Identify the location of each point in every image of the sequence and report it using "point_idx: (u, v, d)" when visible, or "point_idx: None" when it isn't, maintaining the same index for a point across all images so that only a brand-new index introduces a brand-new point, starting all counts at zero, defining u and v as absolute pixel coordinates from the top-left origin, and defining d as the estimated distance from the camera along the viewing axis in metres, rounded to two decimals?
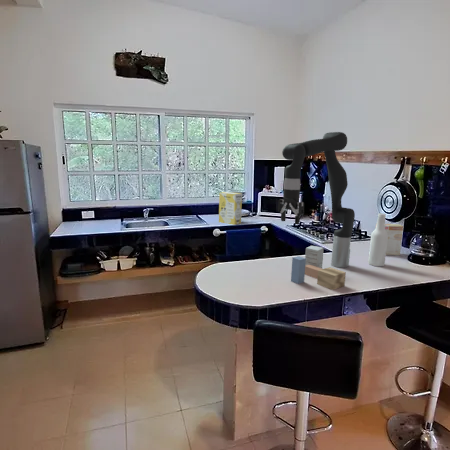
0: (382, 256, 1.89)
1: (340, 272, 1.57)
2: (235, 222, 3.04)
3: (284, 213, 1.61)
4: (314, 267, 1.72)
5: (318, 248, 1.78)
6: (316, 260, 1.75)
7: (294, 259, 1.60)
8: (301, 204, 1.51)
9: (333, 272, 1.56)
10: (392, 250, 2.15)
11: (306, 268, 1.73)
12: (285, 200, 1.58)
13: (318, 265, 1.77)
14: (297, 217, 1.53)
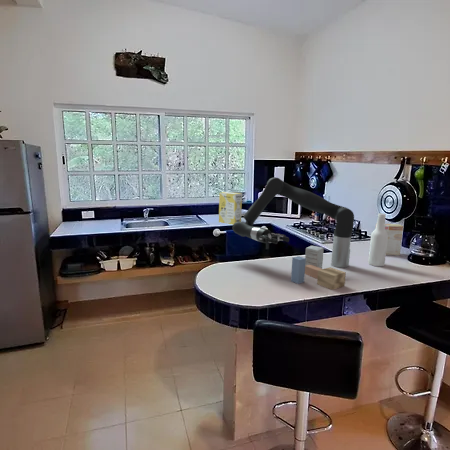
0: (382, 256, 1.89)
1: (340, 272, 1.57)
2: (235, 222, 3.04)
3: (283, 237, 1.73)
4: (314, 267, 1.72)
5: (318, 248, 1.78)
6: (316, 260, 1.75)
7: (294, 259, 1.60)
8: (260, 239, 1.71)
9: (333, 272, 1.56)
10: (392, 250, 2.15)
11: (306, 268, 1.73)
12: None
13: (318, 265, 1.77)
14: (271, 242, 1.68)
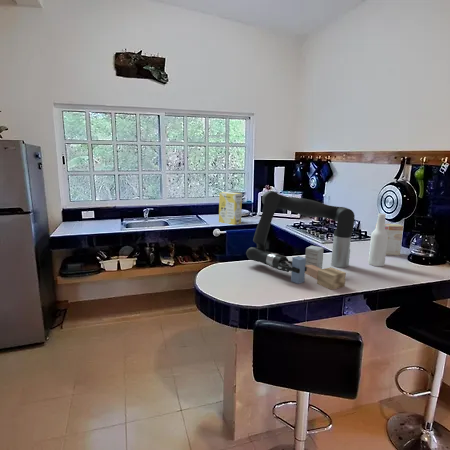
0: (382, 256, 1.89)
1: (340, 272, 1.57)
2: (235, 222, 3.04)
3: None
4: (314, 267, 1.72)
5: (318, 248, 1.78)
6: (316, 260, 1.75)
7: (294, 259, 1.60)
8: (279, 268, 1.63)
9: (333, 272, 1.56)
10: (392, 250, 2.15)
11: None
12: None
13: (318, 265, 1.77)
14: (293, 271, 1.61)
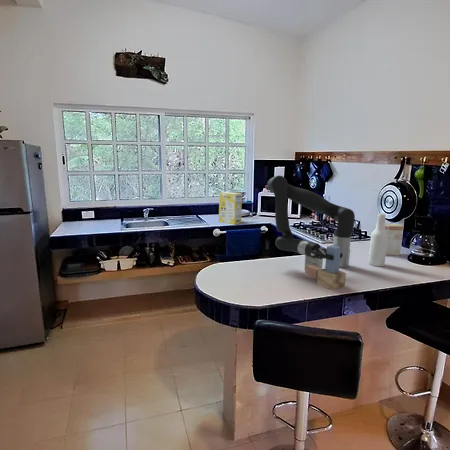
0: (382, 256, 1.89)
1: (340, 272, 1.57)
2: (235, 222, 3.04)
3: None
4: (314, 267, 1.72)
5: None
6: (316, 260, 1.75)
7: (329, 248, 1.56)
8: (312, 255, 1.59)
9: None
10: (392, 250, 2.15)
11: (307, 267, 1.74)
12: None
13: (318, 265, 1.77)
14: (326, 258, 1.55)
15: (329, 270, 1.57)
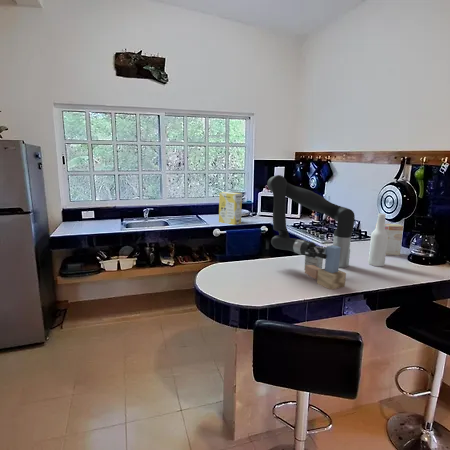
0: (382, 256, 1.89)
1: (340, 272, 1.57)
2: (235, 222, 3.04)
3: None
4: (314, 267, 1.72)
5: None
6: (316, 260, 1.75)
7: (329, 248, 1.56)
8: (306, 254, 1.61)
9: None
10: (392, 250, 2.15)
11: (307, 267, 1.74)
12: None
13: (318, 265, 1.77)
14: (319, 256, 1.58)
15: (329, 270, 1.57)
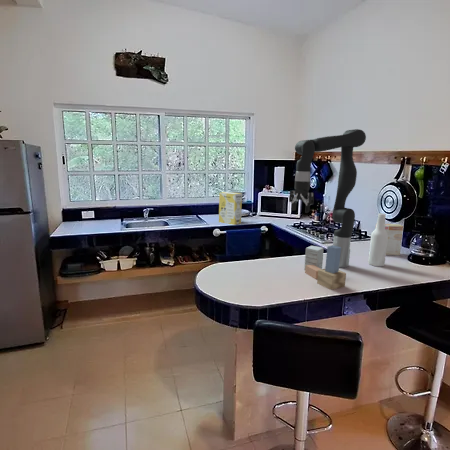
0: (382, 256, 1.89)
1: (340, 272, 1.57)
2: (235, 222, 3.04)
3: (295, 203, 1.77)
4: (314, 267, 1.72)
5: (318, 248, 1.78)
6: (316, 260, 1.75)
7: (329, 248, 1.56)
8: (311, 194, 1.67)
9: None
10: (392, 250, 2.15)
11: (307, 267, 1.74)
12: (296, 191, 1.74)
13: (318, 265, 1.77)
14: (307, 206, 1.69)
15: (329, 270, 1.57)
